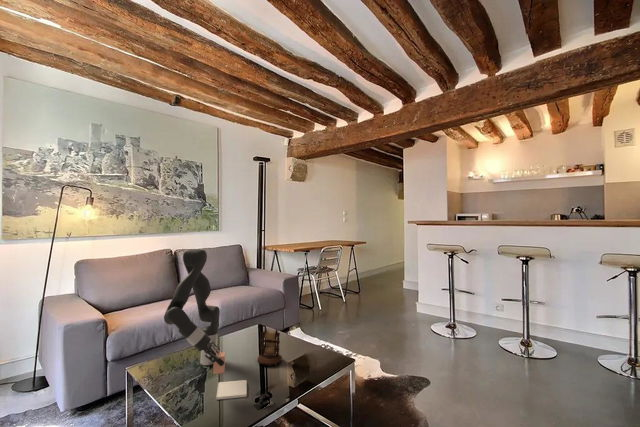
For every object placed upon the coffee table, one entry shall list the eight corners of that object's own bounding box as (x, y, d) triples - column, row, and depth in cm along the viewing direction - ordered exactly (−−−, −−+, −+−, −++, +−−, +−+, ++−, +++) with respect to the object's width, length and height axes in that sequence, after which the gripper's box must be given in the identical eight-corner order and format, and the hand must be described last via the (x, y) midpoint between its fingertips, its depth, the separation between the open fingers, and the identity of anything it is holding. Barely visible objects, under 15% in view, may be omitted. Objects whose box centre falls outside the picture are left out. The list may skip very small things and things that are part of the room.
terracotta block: (214, 368, 154) (214, 352, 155) (224, 368, 156) (225, 352, 156) (213, 373, 150) (213, 357, 150) (224, 372, 151) (224, 356, 151)
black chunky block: (255, 413, 139) (255, 403, 139) (248, 405, 145) (249, 395, 145) (279, 405, 146) (280, 395, 146) (272, 397, 152) (273, 388, 152)
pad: (218, 384, 162) (218, 382, 162) (246, 382, 165) (246, 379, 165) (216, 399, 148) (216, 397, 148) (246, 396, 151) (246, 394, 151)
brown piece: (284, 357, 196) (285, 325, 197) (278, 368, 181) (279, 334, 182) (261, 356, 198) (262, 324, 198) (254, 366, 183) (255, 332, 184)
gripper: (202, 338, 144) (228, 362, 147) (206, 327, 158) (230, 350, 161) (189, 350, 143) (216, 375, 145) (194, 339, 157) (219, 361, 159)
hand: (223, 361), depth 153 cm, fingers closed on terracotta block, 5 cm apart
